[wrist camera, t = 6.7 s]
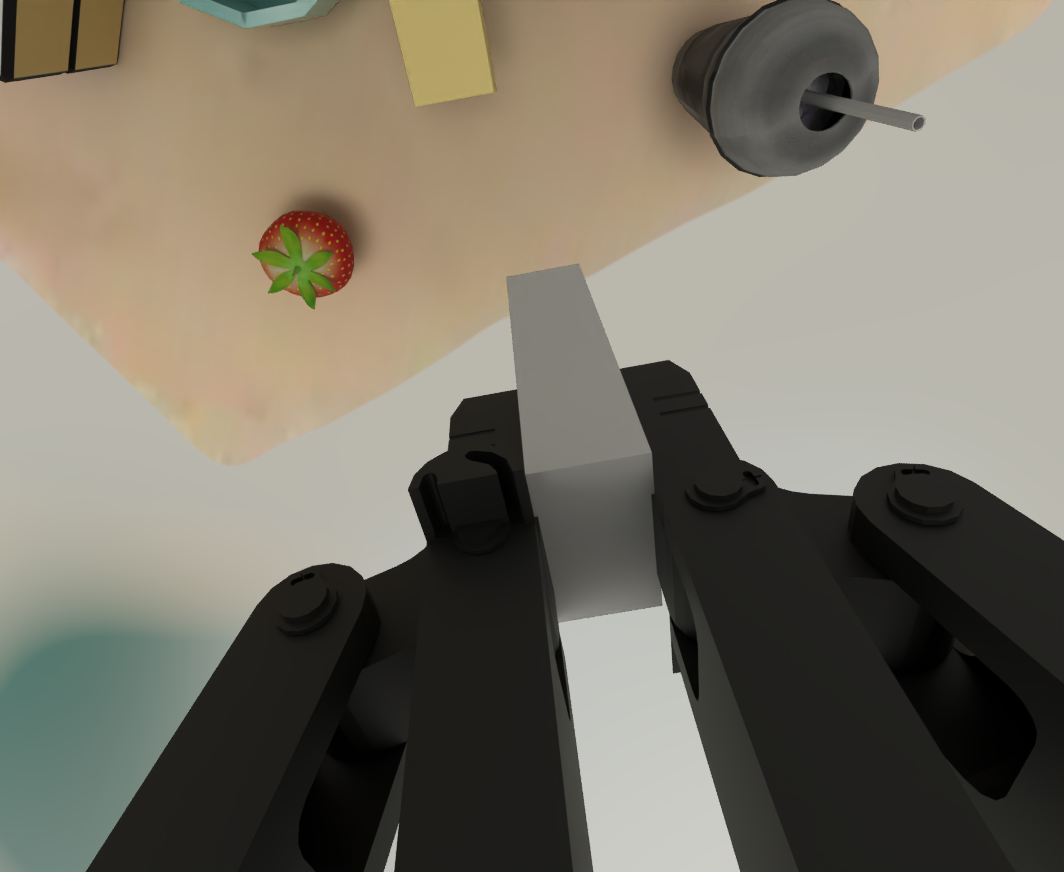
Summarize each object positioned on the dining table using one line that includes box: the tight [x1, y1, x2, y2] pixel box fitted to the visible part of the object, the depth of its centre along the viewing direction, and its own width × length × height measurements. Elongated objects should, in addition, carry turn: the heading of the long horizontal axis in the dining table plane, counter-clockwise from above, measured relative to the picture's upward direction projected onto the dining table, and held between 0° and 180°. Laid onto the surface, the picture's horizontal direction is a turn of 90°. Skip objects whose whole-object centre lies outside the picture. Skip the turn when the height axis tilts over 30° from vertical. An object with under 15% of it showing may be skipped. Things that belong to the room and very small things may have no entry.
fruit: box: [252, 211, 354, 309], centre depth 38 cm, size 5×5×8 cm
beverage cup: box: [672, 0, 926, 177], centre depth 29 cm, size 7×7×20 cm
